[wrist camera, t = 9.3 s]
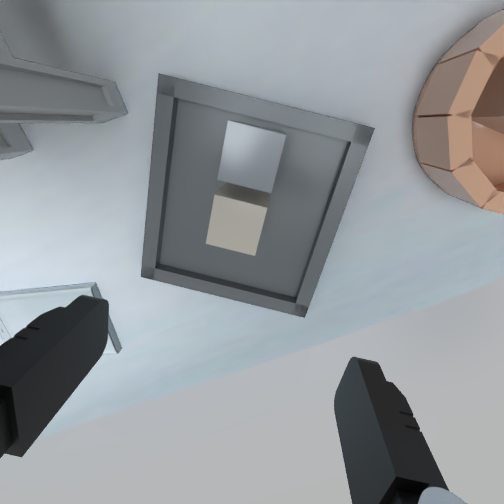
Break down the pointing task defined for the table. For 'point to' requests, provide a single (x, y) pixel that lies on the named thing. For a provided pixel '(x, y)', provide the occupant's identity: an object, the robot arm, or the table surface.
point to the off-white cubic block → (237, 218)
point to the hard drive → (45, 308)
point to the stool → (48, 99)
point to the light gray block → (251, 155)
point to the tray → (280, 200)
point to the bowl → (463, 120)
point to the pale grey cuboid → (492, 101)
